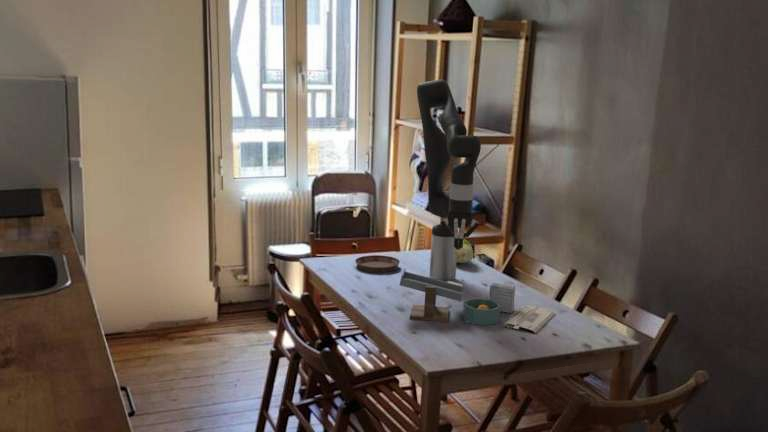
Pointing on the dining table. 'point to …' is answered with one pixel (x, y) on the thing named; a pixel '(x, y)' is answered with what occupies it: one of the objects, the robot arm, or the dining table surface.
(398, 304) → the dining table surface
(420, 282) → the lever
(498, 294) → the medicine box
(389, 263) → the plant saucer
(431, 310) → the lever stand
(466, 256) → the lettuce
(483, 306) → the ball
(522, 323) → the newspaper
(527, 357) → the dining table surface
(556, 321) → the dining table surface
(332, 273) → the dining table surface
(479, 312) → the teal faceted bowl
